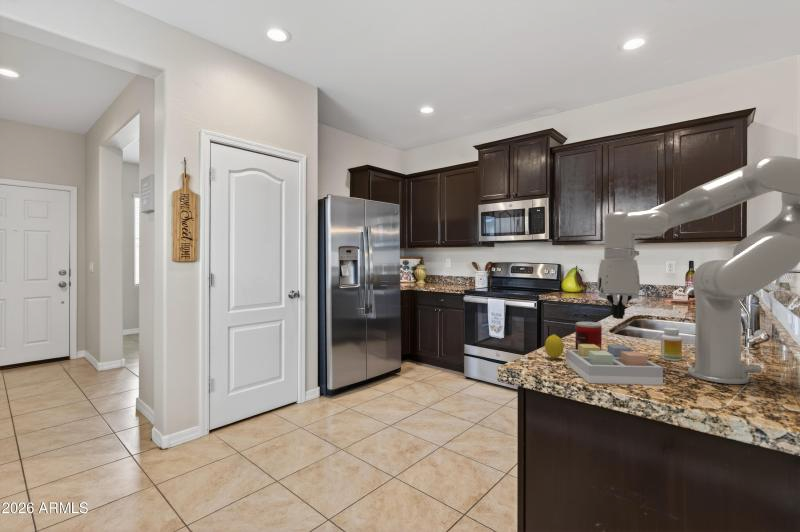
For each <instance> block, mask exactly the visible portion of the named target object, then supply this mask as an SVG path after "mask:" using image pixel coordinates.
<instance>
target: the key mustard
mask: <svg viewBox="0 0 800 532" xmlns="http://www.w3.org/2000/svg"><path fill="white" fill-rule="evenodd" d="M589 351H600V347H598V346H596V345H594V344H578V354H579V355H580V356H581V357H589Z"/></svg>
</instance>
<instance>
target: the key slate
mask: <svg viewBox="0 0 800 532" xmlns="http://www.w3.org/2000/svg"><path fill="white" fill-rule="evenodd" d="M607 350H608V352H609V353H610V354H612V355H613V357H621V351H629V352H633V350H632V347H630V346H628V345H626V344H607Z"/></svg>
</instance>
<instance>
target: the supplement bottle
mask: <svg viewBox="0 0 800 532" xmlns="http://www.w3.org/2000/svg"><path fill="white" fill-rule="evenodd" d="M663 333H664V334H662V335H661V337H660V338H661V340H660V345H661V346H660V348H661V349H660V350H661V353H660V355H661V358H662V359H663V360H667V361H672V362H681V361H682V360H683V358H682V357H683V350H682V348H683V345H682V344H683V343H682V342H683V340H682V339H683V338H682V336H680V335H679V334H680V329H679V328H674V327H664V328H663Z"/></svg>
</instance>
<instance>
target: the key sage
mask: <svg viewBox="0 0 800 532" xmlns="http://www.w3.org/2000/svg"><path fill="white" fill-rule="evenodd" d="M589 362H590V363H591V364H593V365H613V355H612V354H610V353H609V352H607V351H589Z"/></svg>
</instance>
